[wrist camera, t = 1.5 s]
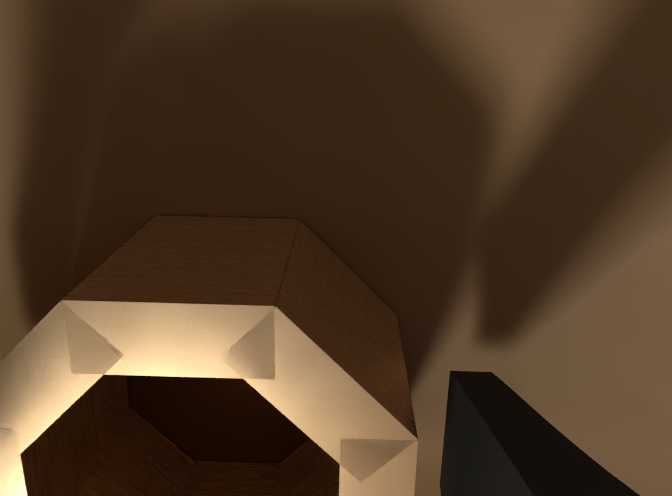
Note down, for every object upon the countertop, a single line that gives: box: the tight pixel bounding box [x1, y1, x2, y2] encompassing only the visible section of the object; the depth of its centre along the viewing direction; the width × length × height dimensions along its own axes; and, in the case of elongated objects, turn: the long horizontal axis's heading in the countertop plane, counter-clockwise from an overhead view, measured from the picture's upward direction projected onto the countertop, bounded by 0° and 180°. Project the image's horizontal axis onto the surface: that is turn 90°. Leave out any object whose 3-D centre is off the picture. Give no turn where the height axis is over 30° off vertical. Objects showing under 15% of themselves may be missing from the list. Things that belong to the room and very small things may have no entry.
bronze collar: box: [0, 215, 418, 496], centre depth 9 cm, size 6×6×3 cm
